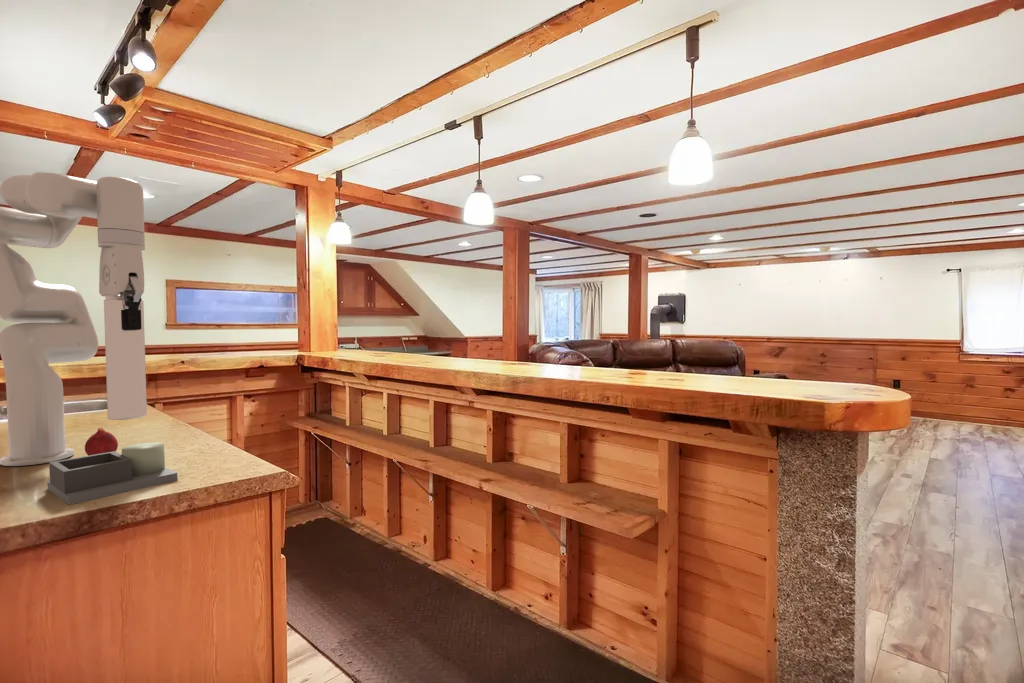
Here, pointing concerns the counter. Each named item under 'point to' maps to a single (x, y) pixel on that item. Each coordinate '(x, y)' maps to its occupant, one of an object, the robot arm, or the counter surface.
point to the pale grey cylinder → (124, 364)
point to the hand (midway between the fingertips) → (124, 328)
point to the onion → (101, 443)
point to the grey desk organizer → (109, 473)
